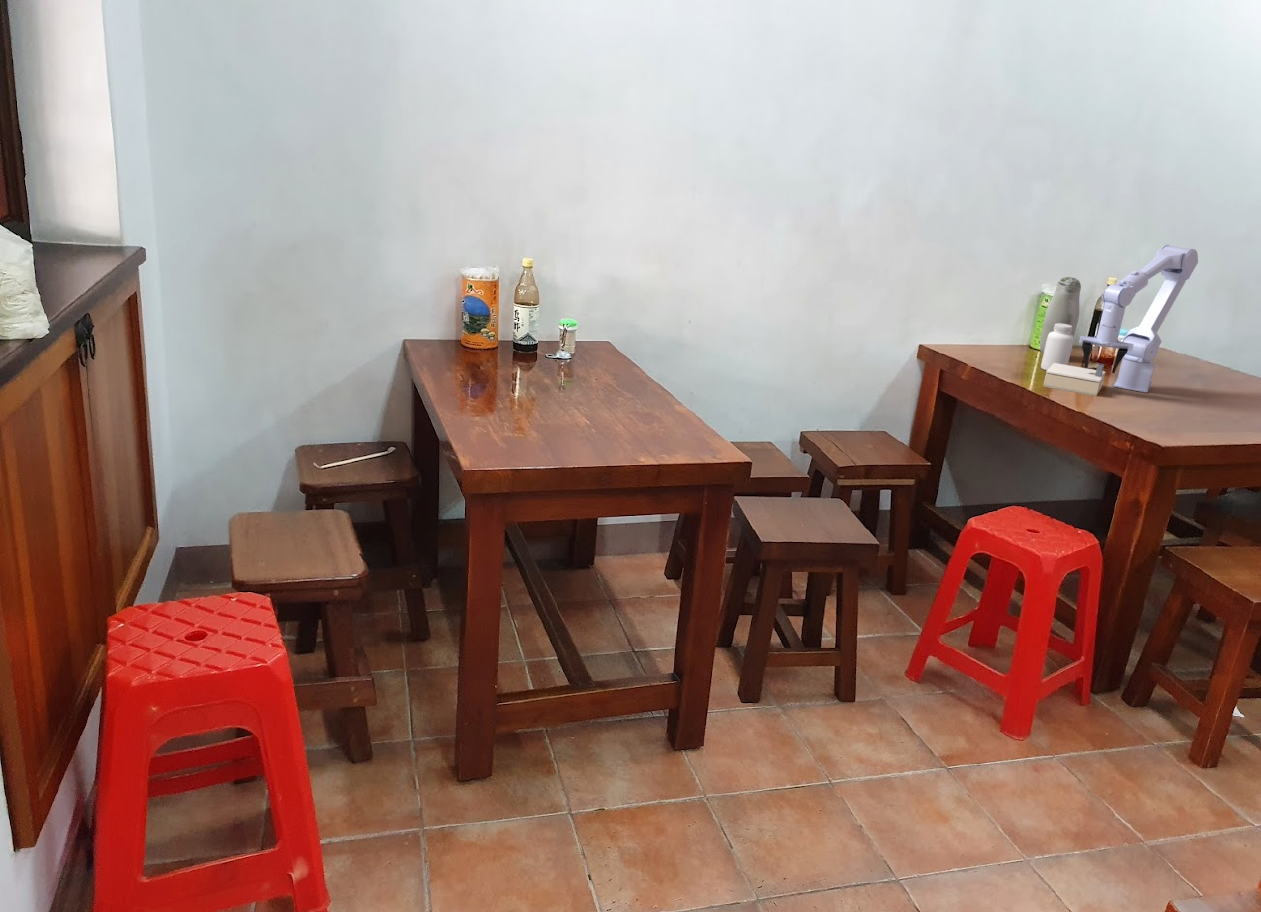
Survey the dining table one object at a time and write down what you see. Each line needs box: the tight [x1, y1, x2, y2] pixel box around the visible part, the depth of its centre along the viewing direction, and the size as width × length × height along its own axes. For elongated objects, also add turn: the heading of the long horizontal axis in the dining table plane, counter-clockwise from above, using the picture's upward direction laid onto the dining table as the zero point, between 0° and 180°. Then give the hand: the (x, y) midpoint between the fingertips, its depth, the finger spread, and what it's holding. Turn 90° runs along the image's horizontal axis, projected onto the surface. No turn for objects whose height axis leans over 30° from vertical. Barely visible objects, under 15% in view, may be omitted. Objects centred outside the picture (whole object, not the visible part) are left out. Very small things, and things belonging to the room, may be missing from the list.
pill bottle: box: [1040, 323, 1075, 371], centre depth 310 cm, size 8×8×15 cm
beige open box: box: [1042, 372, 1106, 397], centre depth 293 cm, size 15×14×4 cm
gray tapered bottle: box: [1039, 276, 1082, 355], centre depth 324 cm, size 10×10×28 cm
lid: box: [1045, 363, 1106, 382], centre depth 291 cm, size 15×14×4 cm
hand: (1099, 370), depth 288 cm, fingers open, 7 cm apart
